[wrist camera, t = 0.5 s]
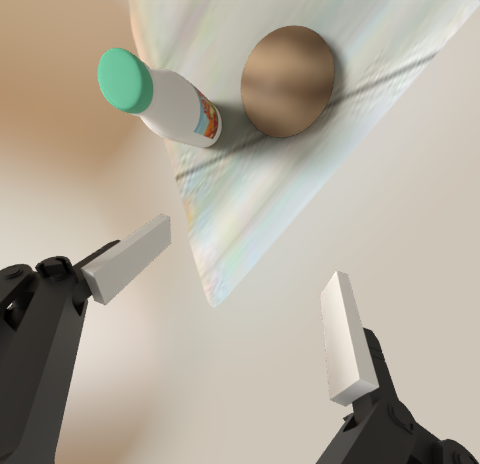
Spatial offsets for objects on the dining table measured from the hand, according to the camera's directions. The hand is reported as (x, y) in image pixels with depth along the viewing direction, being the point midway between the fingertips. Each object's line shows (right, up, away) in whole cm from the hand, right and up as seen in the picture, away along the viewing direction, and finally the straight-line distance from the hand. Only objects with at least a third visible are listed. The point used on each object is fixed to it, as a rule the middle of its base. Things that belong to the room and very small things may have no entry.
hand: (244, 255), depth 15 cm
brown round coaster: (+7, +25, +16) cm, 31 cm away
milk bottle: (-7, +22, +20) cm, 31 cm away
